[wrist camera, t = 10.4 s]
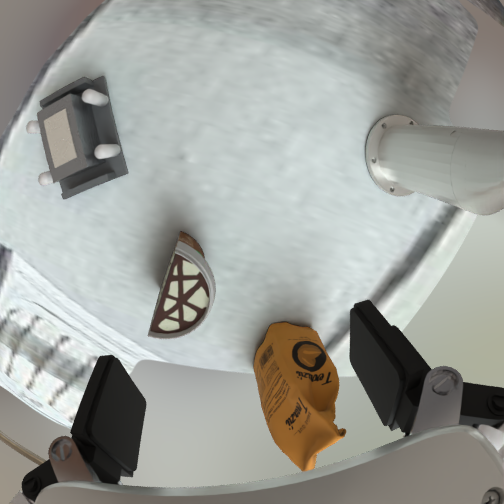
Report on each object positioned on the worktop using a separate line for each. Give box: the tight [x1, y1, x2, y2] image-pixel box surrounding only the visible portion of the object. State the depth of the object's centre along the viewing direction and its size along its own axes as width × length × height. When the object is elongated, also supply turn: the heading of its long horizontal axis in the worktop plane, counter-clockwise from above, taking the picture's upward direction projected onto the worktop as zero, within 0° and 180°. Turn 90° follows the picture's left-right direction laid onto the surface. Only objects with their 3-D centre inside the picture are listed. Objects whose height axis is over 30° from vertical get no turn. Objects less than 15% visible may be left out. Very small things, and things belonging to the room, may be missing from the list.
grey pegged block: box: [26, 76, 128, 199], centre depth 27 cm, size 10×14×6 cm
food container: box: [148, 231, 216, 339], centre depth 34 cm, size 12×6×10 cm, turn 156°
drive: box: [37, 94, 106, 183], centre depth 26 cm, size 5×9×6 cm, turn 14°
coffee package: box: [254, 322, 346, 472], centre depth 37 cm, size 10×12×22 cm
